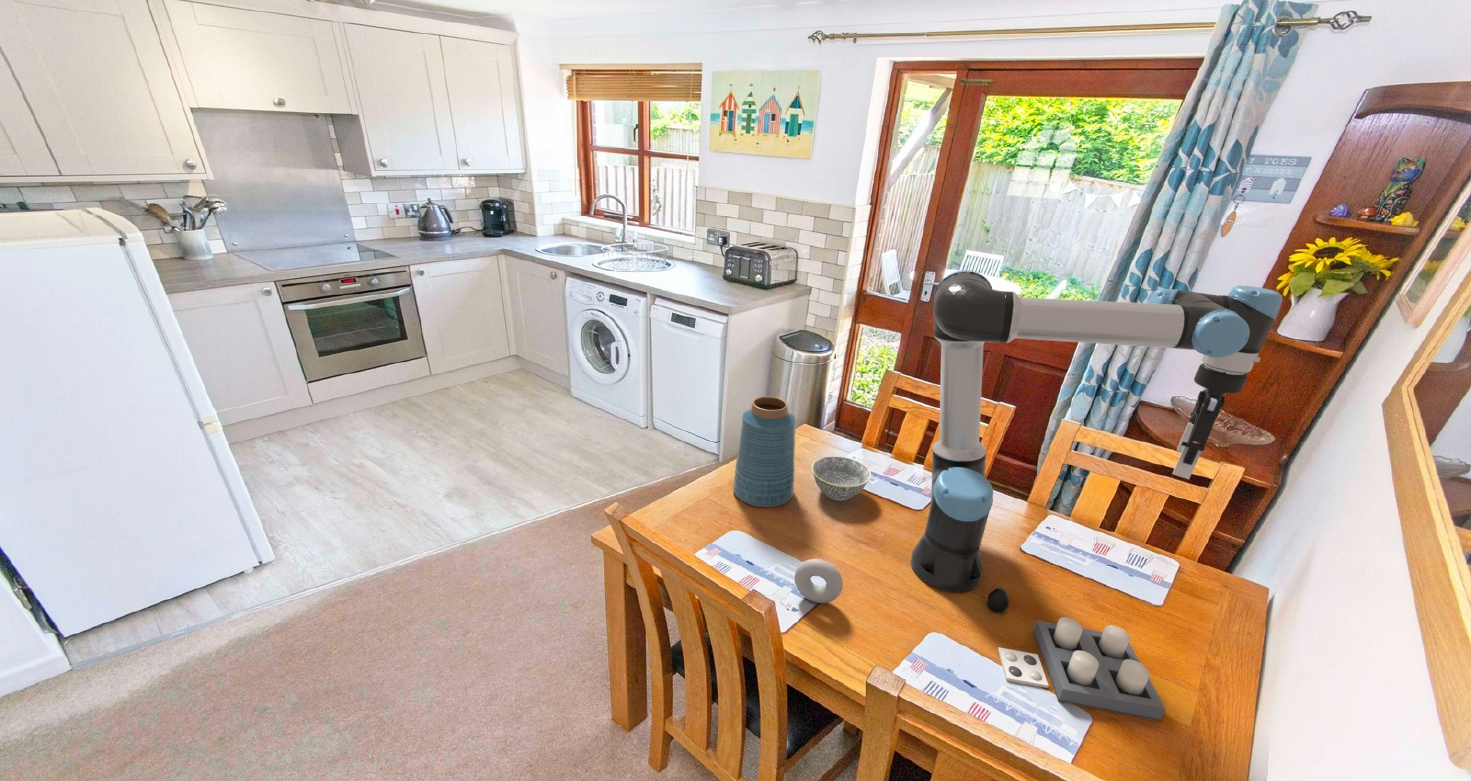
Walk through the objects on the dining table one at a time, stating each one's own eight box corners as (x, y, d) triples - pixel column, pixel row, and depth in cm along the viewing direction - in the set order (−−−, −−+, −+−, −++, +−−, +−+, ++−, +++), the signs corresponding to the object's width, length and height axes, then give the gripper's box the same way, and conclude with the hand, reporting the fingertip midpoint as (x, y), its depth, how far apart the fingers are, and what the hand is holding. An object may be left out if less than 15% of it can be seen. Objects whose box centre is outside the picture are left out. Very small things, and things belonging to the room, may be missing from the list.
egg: (1008, 617, 117) (1014, 598, 115) (987, 613, 118) (993, 594, 116) (1003, 602, 121) (1009, 584, 119) (983, 599, 122) (988, 581, 120)
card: (1006, 679, 103) (1007, 677, 103) (997, 649, 109) (998, 646, 109) (1047, 687, 102) (1048, 685, 102) (1036, 656, 108) (1037, 653, 108)
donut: (841, 600, 119) (847, 562, 115) (838, 612, 116) (844, 573, 112) (794, 588, 122) (798, 550, 118) (790, 598, 119) (794, 560, 115)
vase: (748, 515, 146) (754, 421, 135) (723, 482, 159) (727, 394, 149) (804, 503, 152) (814, 412, 141) (776, 472, 166) (783, 387, 155)
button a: (1070, 683, 100) (1077, 666, 98) (1063, 664, 103) (1069, 648, 102) (1095, 688, 99) (1102, 671, 98) (1087, 669, 103) (1093, 652, 101)
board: (1058, 701, 99) (1062, 688, 98) (1033, 631, 114) (1036, 620, 113) (1159, 721, 97) (1165, 708, 96) (1120, 647, 111) (1125, 635, 110)
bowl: (809, 475, 165) (812, 452, 162) (865, 481, 163) (868, 458, 160) (808, 506, 150) (811, 482, 147) (869, 514, 149) (873, 489, 146)
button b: (1120, 692, 99) (1128, 675, 97) (1111, 673, 102) (1118, 657, 101) (1146, 697, 98) (1154, 680, 96) (1136, 678, 101) (1143, 661, 100)
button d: (1103, 655, 106) (1109, 639, 104) (1095, 639, 109) (1101, 623, 108) (1126, 660, 105) (1133, 643, 104) (1117, 643, 109) (1124, 627, 107)
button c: (1056, 647, 107) (1062, 631, 106) (1050, 631, 111) (1055, 615, 109) (1079, 651, 106) (1085, 635, 105) (1072, 635, 110) (1078, 619, 109)
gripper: (1251, 391, 99) (1203, 495, 107) (1247, 358, 117) (1206, 449, 125) (1198, 379, 103) (1155, 479, 111) (1202, 349, 121) (1165, 437, 130)
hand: (1182, 463), depth 118 cm, fingers open, 13 cm apart
